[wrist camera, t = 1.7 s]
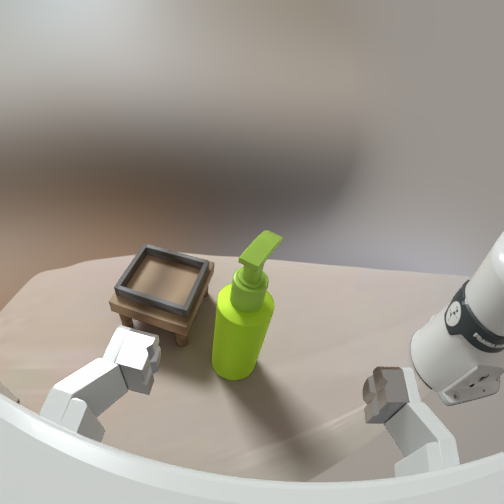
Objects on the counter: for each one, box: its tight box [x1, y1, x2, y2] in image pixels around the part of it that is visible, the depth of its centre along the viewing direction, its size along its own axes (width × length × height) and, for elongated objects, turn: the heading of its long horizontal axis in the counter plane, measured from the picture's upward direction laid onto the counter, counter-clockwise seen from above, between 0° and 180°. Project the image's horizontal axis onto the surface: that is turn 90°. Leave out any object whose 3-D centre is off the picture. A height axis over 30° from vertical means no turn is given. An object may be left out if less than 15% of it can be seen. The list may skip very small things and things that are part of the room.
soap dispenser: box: [212, 230, 283, 380], centre depth 34 cm, size 6×7×20 cm
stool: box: [109, 244, 214, 347], centre depth 42 cm, size 11×12×8 cm
